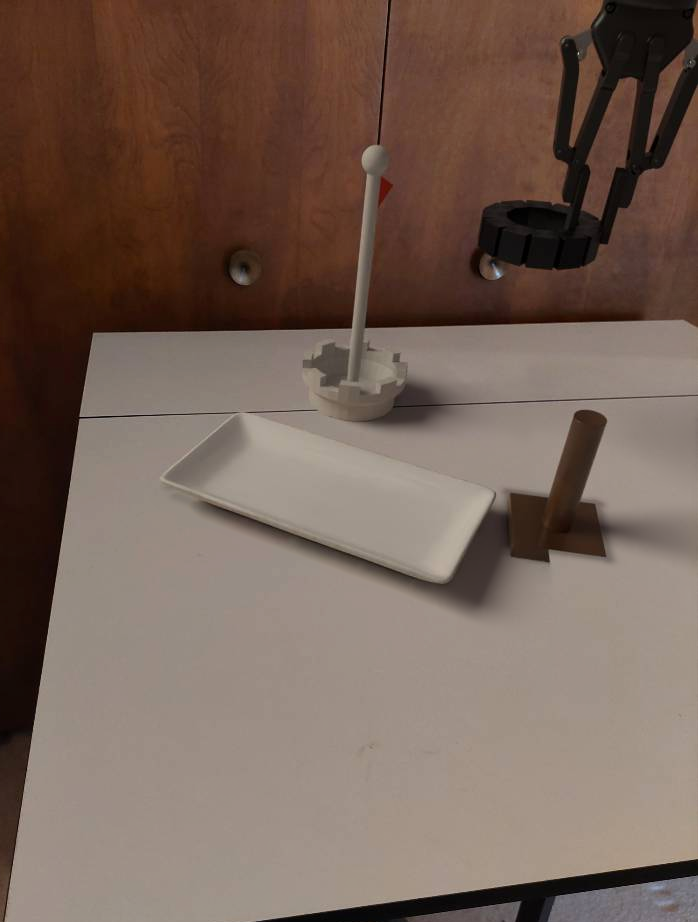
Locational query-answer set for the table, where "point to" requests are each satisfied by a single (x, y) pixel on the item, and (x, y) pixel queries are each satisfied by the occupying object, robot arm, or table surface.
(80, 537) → the table surface
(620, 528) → the table surface
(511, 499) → the post
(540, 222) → the ring
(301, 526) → the tray
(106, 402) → the table surface
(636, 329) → the table surface
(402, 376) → the flag stand
